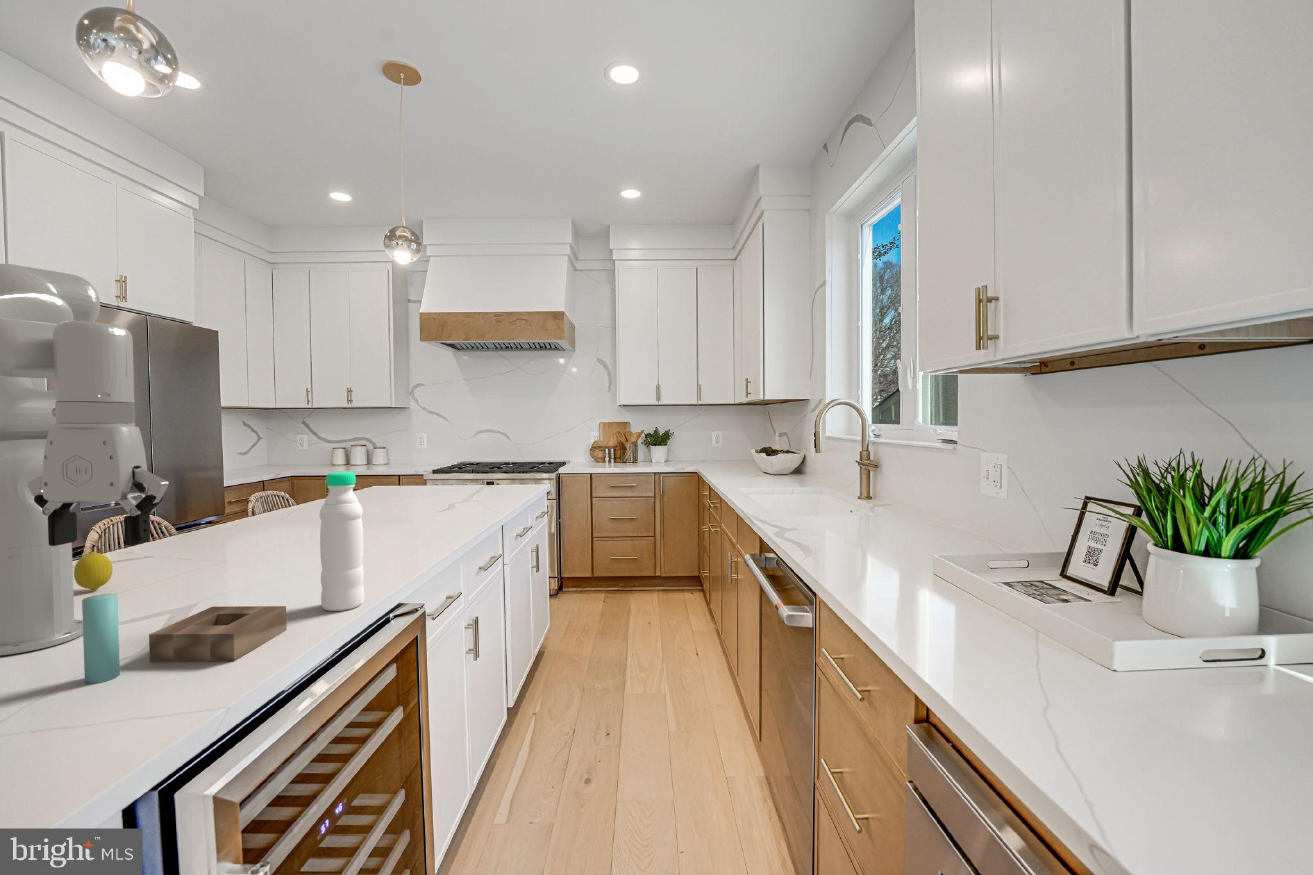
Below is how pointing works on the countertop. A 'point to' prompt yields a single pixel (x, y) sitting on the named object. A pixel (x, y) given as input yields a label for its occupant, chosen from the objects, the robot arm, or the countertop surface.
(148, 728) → the countertop surface
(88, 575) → the lemon
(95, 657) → the dowel
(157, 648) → the socket block
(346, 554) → the water bottle
